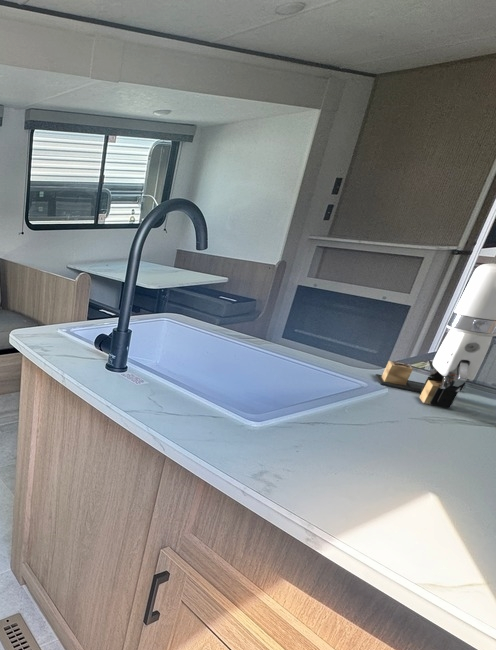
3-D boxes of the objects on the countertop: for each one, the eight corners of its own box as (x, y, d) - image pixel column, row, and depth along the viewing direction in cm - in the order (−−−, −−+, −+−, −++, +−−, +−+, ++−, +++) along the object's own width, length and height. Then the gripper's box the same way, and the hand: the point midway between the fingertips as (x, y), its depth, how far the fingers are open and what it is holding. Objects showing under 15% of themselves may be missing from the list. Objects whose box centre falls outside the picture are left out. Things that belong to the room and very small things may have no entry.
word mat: (431, 386, 107) (432, 384, 107) (440, 396, 101) (441, 395, 101) (375, 375, 113) (376, 373, 112) (380, 384, 106) (381, 383, 106)
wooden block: (401, 380, 109) (409, 363, 107) (405, 385, 105) (413, 368, 104) (381, 376, 111) (389, 359, 109) (384, 381, 107) (392, 364, 106)
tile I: (442, 402, 98) (452, 383, 96) (447, 408, 95) (457, 389, 93) (419, 397, 100) (428, 378, 98) (423, 403, 97) (433, 384, 95)
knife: (421, 368, 120) (426, 358, 119) (426, 368, 119) (431, 358, 118) (457, 390, 105) (463, 379, 104) (462, 391, 105) (468, 380, 104)
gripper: (516, 337, 82) (469, 419, 89) (484, 319, 95) (445, 391, 102) (462, 329, 85) (421, 408, 92) (438, 313, 99) (404, 383, 106)
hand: (434, 399), depth 97 cm, fingers open, 7 cm apart
